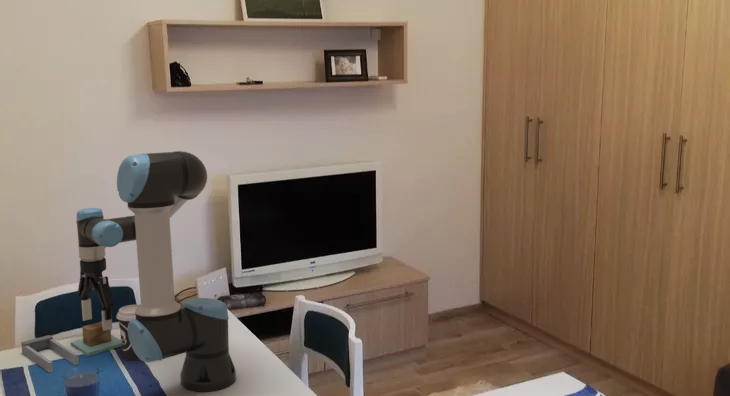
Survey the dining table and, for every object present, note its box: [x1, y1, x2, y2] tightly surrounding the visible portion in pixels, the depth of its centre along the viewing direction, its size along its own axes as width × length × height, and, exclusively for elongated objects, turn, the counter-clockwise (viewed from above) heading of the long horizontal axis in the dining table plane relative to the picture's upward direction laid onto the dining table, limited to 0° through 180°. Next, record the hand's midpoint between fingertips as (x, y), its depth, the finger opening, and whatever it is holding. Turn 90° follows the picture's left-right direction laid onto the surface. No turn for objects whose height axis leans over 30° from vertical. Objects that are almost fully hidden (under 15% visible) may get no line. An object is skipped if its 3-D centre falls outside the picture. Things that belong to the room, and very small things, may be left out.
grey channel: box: [20, 334, 80, 374], centre depth 210 cm, size 20×8×4 cm, turn 46°
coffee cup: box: [115, 304, 140, 361], centre depth 212 cm, size 10×10×15 cm
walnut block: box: [82, 321, 112, 347], centre depth 221 cm, size 7×4×6 cm, turn 136°
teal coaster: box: [70, 334, 122, 357], centre depth 221 cm, size 12×12×1 cm
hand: (97, 324), depth 220 cm, fingers open, 13 cm apart
